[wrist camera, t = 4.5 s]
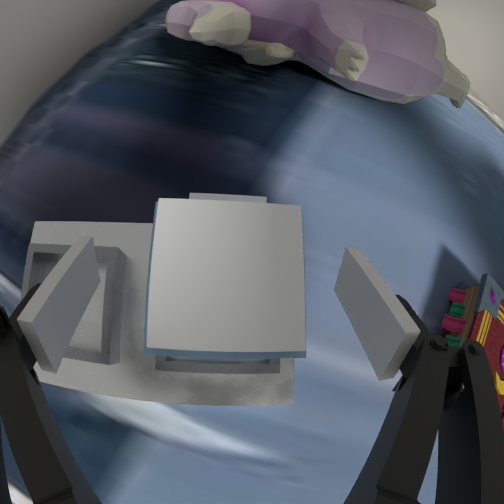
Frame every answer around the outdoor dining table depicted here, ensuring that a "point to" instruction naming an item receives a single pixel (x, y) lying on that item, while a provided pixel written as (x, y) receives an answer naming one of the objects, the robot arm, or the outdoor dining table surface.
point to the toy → (333, 41)
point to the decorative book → (479, 324)
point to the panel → (139, 330)
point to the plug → (226, 279)
